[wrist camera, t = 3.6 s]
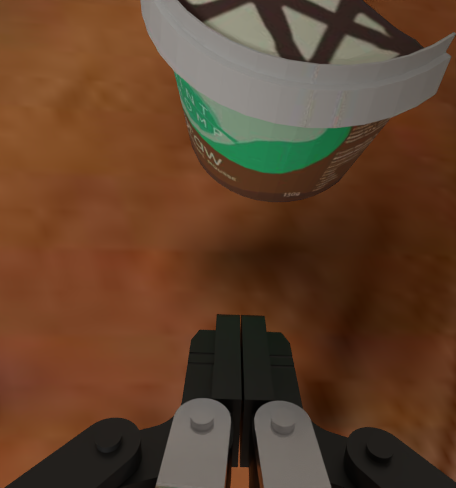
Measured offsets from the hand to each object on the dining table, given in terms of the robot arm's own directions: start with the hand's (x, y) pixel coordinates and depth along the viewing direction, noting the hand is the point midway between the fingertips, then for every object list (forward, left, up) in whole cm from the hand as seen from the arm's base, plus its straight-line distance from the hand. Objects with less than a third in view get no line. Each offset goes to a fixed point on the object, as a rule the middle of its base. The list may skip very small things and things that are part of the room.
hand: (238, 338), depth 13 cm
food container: (0, +10, -6) cm, 12 cm away
